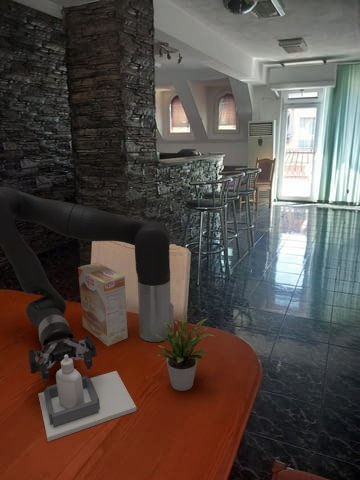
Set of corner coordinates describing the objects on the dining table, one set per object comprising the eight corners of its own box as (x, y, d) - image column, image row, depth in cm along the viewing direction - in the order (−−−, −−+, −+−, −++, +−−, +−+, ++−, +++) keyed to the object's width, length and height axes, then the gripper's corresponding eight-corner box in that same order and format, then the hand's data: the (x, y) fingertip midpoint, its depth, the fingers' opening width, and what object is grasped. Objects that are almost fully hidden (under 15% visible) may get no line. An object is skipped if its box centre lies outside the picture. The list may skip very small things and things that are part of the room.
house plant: (223, 371, 91) (225, 312, 87) (209, 410, 79) (210, 342, 74) (169, 361, 96) (168, 303, 91) (148, 395, 83) (145, 330, 79)
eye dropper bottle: (66, 416, 76) (59, 366, 72) (57, 400, 80) (51, 352, 77) (86, 407, 78) (81, 358, 75) (77, 392, 83) (71, 345, 79)
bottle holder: (116, 374, 91) (115, 361, 90) (136, 410, 79) (135, 396, 78) (38, 397, 83) (37, 383, 82) (47, 441, 71) (45, 426, 70)
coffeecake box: (82, 326, 113) (76, 267, 108) (102, 319, 118) (98, 261, 112) (107, 347, 102) (102, 281, 97) (128, 338, 107) (125, 275, 101)
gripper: (23, 328, 87) (30, 365, 73) (83, 315, 93) (101, 346, 79) (26, 356, 89) (34, 397, 75) (85, 341, 95) (103, 376, 81)
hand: (68, 371), depth 77 cm, fingers open, 8 cm apart
